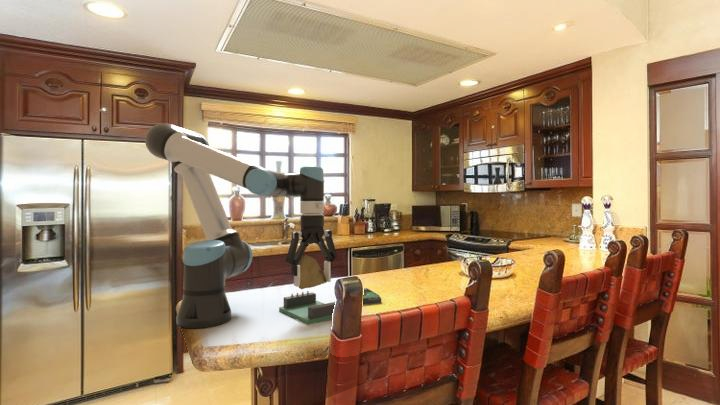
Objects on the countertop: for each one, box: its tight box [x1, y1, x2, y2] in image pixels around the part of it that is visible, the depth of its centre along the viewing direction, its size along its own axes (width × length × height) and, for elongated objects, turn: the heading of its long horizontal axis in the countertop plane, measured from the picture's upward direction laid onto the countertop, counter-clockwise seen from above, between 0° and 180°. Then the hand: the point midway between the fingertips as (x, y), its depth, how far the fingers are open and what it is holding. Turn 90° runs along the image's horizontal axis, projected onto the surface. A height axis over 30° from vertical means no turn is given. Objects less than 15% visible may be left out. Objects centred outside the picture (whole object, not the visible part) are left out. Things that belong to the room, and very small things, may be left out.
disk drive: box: [363, 287, 382, 305], centre depth 135 cm, size 10×3×15 cm
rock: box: [298, 254, 328, 290], centre depth 118 cm, size 11×9×10 cm
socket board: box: [278, 290, 336, 326], centre depth 117 cm, size 14×18×5 cm
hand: (312, 283), depth 117 cm, fingers closed on rock, 11 cm apart
